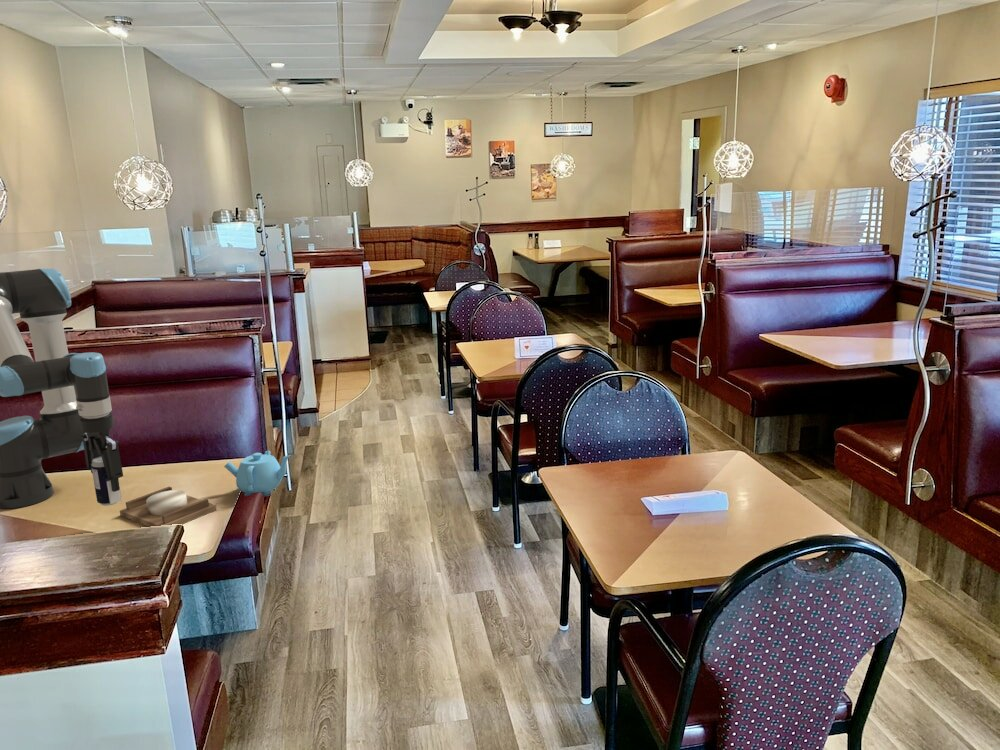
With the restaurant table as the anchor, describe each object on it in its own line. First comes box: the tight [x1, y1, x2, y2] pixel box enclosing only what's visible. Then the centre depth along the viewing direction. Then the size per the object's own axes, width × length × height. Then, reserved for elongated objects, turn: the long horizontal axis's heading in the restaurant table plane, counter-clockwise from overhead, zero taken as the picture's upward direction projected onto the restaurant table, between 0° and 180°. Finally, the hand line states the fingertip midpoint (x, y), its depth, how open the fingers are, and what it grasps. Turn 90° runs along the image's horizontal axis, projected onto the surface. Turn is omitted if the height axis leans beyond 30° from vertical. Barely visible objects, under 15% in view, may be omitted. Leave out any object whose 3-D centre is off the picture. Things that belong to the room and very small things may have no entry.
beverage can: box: [90, 457, 121, 506], centre depth 200 cm, size 6×6×12 cm
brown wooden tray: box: [119, 486, 217, 527], centre depth 210 cm, size 20×16×4 cm
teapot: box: [224, 450, 292, 497], centre depth 223 cm, size 15×14×11 cm
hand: (109, 498), depth 201 cm, fingers closed on beverage can, 6 cm apart
